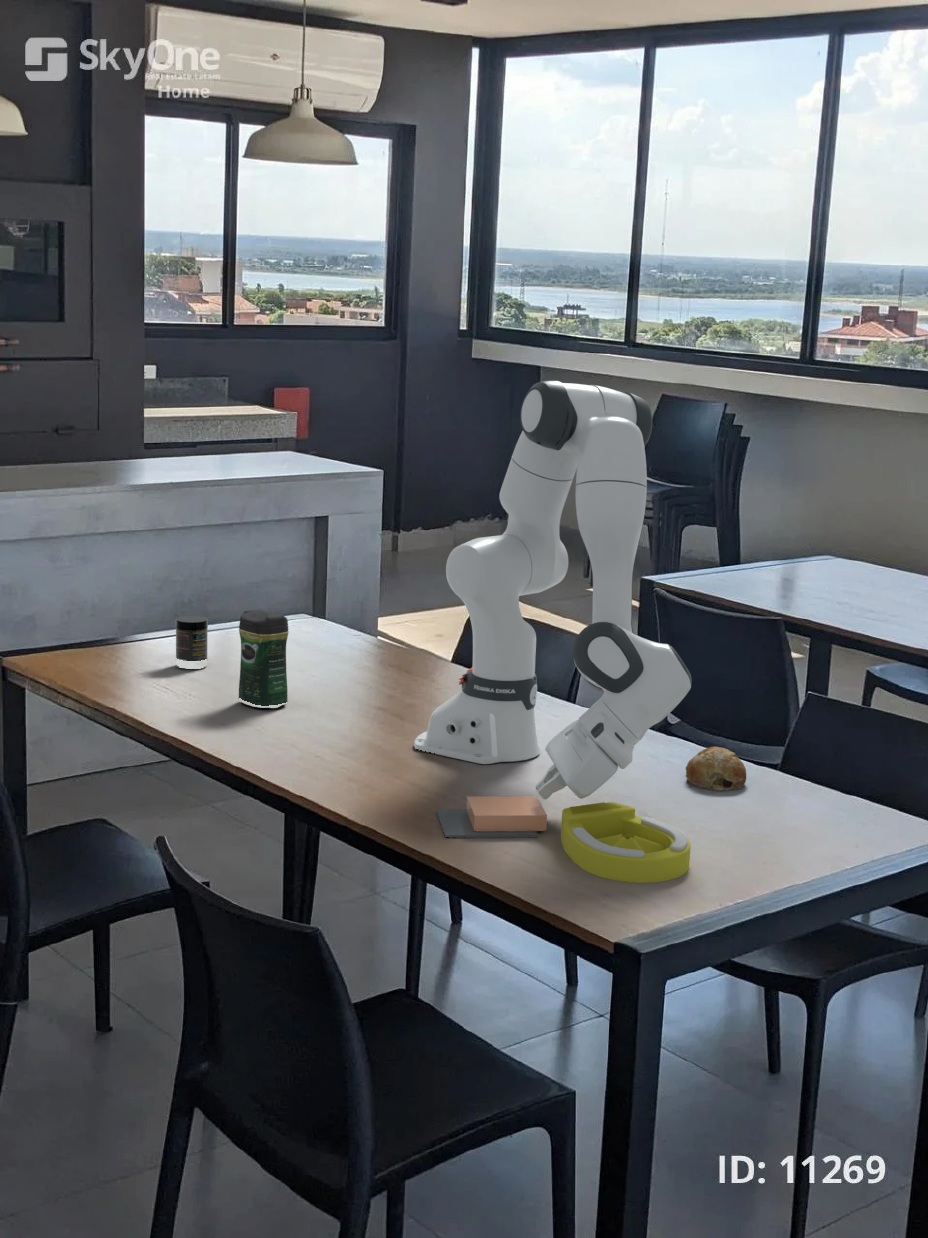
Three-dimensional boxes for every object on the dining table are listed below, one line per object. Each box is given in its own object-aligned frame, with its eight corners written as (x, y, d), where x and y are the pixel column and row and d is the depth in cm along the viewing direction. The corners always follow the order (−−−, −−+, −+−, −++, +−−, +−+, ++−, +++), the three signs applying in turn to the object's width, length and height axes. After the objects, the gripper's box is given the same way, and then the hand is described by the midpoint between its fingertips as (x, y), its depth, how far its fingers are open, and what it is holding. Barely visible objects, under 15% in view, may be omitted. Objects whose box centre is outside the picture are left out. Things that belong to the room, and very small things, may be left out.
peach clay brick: (536, 796, 239) (467, 796, 237) (547, 815, 230) (474, 815, 229) (536, 812, 239) (466, 812, 238) (546, 831, 230) (473, 831, 229)
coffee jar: (294, 706, 297) (296, 613, 294) (261, 712, 292) (262, 617, 288) (264, 696, 304) (265, 604, 300) (231, 702, 299) (232, 609, 295)
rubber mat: (525, 811, 241) (525, 808, 240) (537, 837, 229) (537, 834, 229) (436, 811, 239) (436, 809, 239) (445, 837, 227) (445, 835, 227)
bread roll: (693, 810, 256) (704, 774, 251) (673, 768, 264) (683, 733, 259) (747, 807, 259) (759, 772, 254) (725, 766, 267) (737, 731, 262)
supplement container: (213, 665, 328) (214, 618, 326) (196, 672, 322) (196, 623, 319) (187, 661, 330) (187, 614, 328) (169, 668, 324) (169, 619, 322)
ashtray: (630, 829, 235) (632, 798, 234) (712, 875, 217) (714, 841, 216) (538, 843, 228) (540, 811, 227) (615, 891, 210) (617, 857, 209)
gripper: (579, 700, 242) (515, 759, 243) (606, 736, 223) (536, 800, 223) (605, 728, 244) (541, 786, 245) (634, 766, 224) (565, 829, 225)
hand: (539, 793), depth 234 cm, fingers closed
